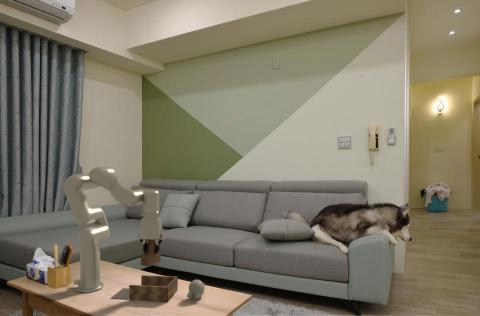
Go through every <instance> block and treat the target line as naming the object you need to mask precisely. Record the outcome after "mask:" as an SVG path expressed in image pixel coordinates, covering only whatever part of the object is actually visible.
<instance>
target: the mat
mask: <svg viewBox="0 0 480 316" xmlns="http://www.w3.org/2000/svg"><path fill="white" fill-rule="evenodd" d="M113 299H114V300H127V301H129V287H128V288H126V287H124V288H122V289H120V290H119V291H118V292H117V293H115V294H114V295H113V296H111V297H110V300H113Z"/></svg>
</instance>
